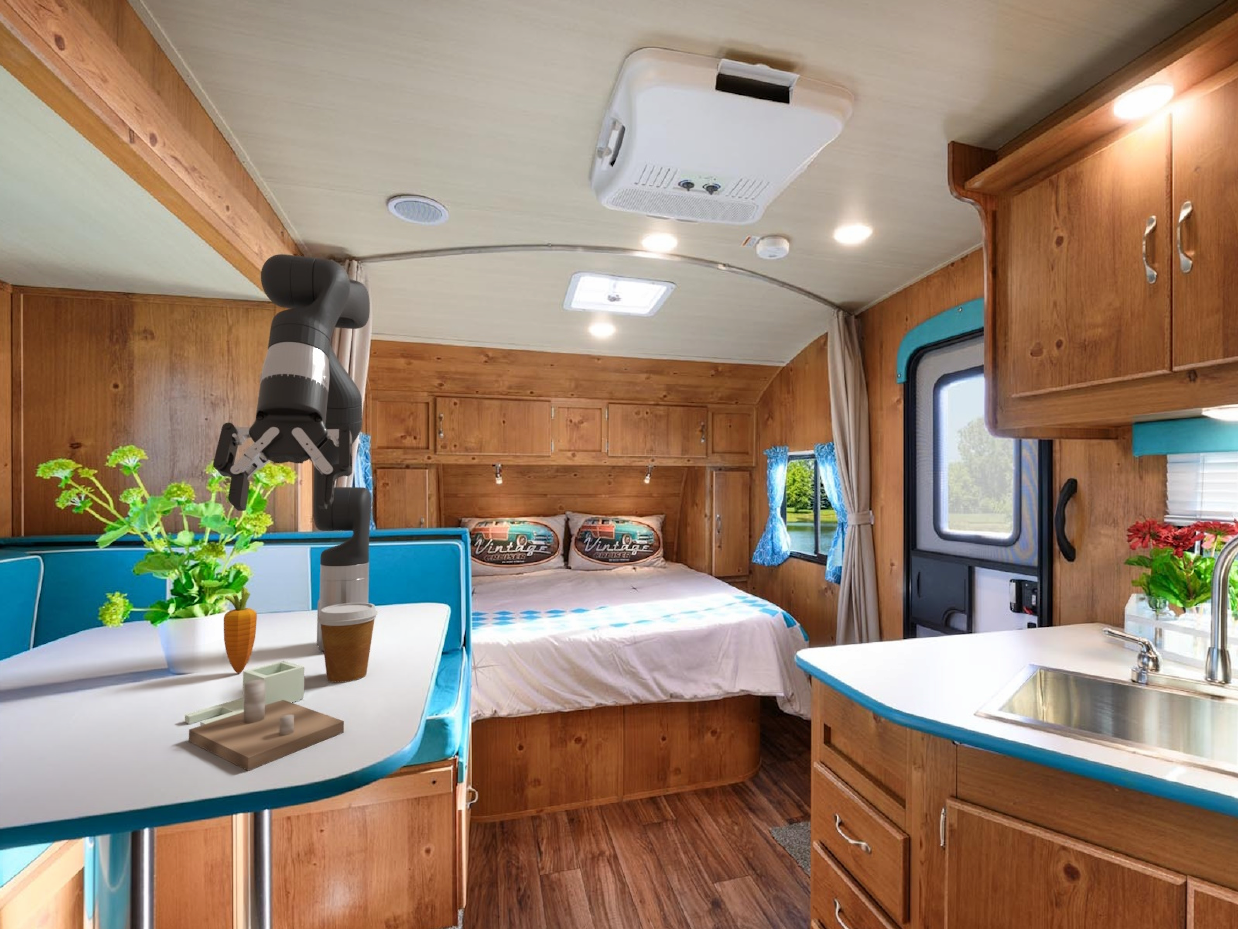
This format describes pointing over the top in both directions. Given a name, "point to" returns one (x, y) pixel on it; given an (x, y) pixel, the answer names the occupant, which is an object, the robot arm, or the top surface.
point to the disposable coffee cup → (347, 639)
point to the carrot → (239, 631)
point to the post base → (264, 730)
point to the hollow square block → (279, 685)
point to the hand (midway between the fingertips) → (281, 508)
